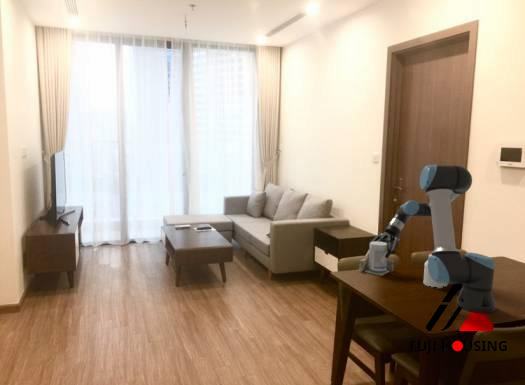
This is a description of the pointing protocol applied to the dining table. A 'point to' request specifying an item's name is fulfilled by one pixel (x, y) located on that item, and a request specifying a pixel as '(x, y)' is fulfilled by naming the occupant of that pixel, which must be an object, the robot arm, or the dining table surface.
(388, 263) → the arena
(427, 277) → the jar
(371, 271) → the mat
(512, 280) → the dining table surface
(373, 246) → the supplement tub
